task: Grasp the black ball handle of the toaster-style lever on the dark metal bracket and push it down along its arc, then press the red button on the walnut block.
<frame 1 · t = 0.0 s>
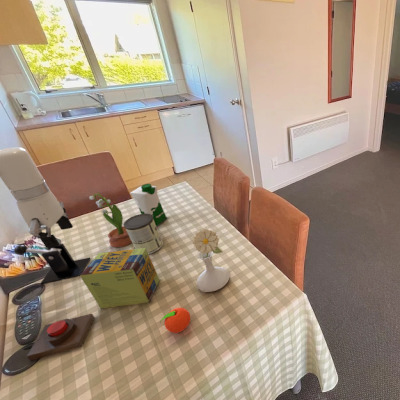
hand: (60, 236, 86), 22 cm above the table, tool pointing down, fingers open, 9 cm apart
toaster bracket: (68, 272, 102), on the table
flower in vase: (216, 283, 97), on the table
coffee can: (150, 247, 115), on the table
clementine: (179, 328, 82), on the table
button block: (65, 337, 79), on the table
potted flower: (123, 242, 118), on the table
milk carton: (156, 221, 132), on the table
protein box: (132, 293, 93), on the table
toast lever: (38, 251, 95), point 12 cm above the table, hinge at 25.0°
start button: (57, 328, 77), point 4 cm above the table, slide at 0.1 cm
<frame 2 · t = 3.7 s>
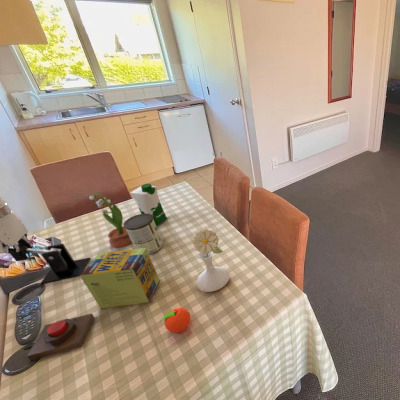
hand: (25, 255, 95), 11 cm above the table, tool pointing down, fingers closed on toast lever, 3 cm apart
toast lever: (38, 251, 95), point 12 cm above the table, hinge at 25.0°, touching gripper
everything else where it was.
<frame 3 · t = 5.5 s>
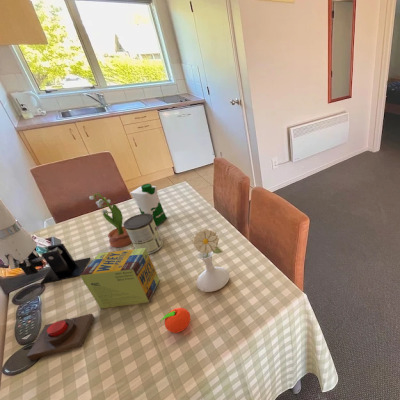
hand: (35, 269, 98), 4 cm above the table, tool pointing down, fingers closed on toast lever, 3 cm apart
toast lever: (42, 258, 97), point 9 cm above the table, hinge at -15.5°, touching gripper
everything else where it was.
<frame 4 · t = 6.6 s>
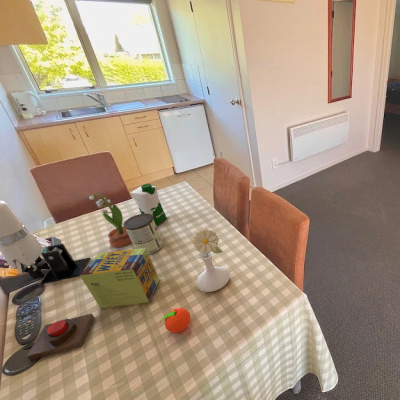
hand: (42, 273, 99), 2 cm above the table, tool pointing down, fingers closed on toast lever, 3 cm apart
toast lever: (45, 260, 97), point 8 cm above the table, hinge at -31.4°, touching gripper
everything else where it was.
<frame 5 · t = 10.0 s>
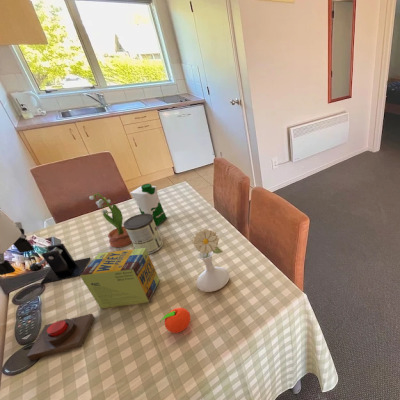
hand: (18, 261, 77), 21 cm above the table, tool pointing down, fingers open, 9 cm apart
toast lever: (45, 260, 97), point 8 cm above the table, hinge at -30.6°
everything else where it was.
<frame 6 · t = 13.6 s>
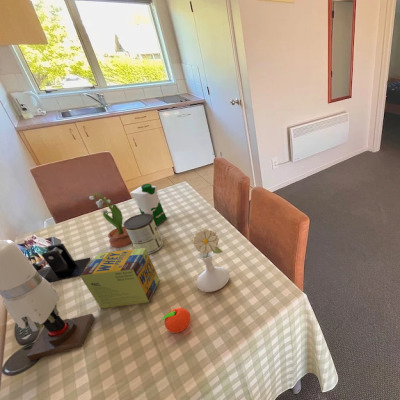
hand: (57, 328, 77), 5 cm above the table, tool pointing down, fingers closed
start button: (59, 330, 77), point 4 cm above the table, slide at -0.7 cm, touching gripper
everything else where it was.
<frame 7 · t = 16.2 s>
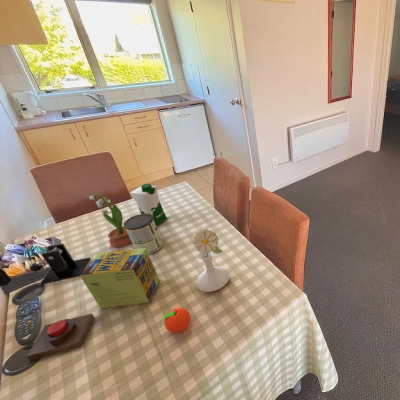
hand: (2, 283, 71), 21 cm above the table, tool pointing down, fingers closed
start button: (57, 328, 77), point 4 cm above the table, slide at 0.1 cm
everything else where it was.
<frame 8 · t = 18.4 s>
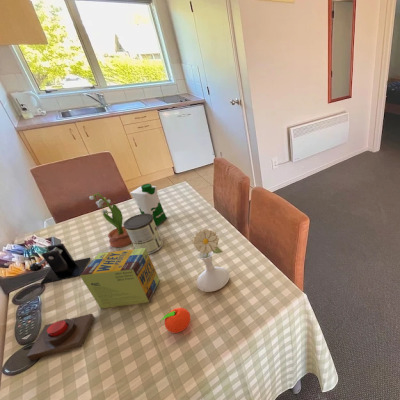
nothing on the table moved.
at the end: toast lever at -31° (first picture: +25°); start button pushed in 1.1 cm at the most during the clip, back to where it started at the end; start button slide at 0.1 cm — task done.
